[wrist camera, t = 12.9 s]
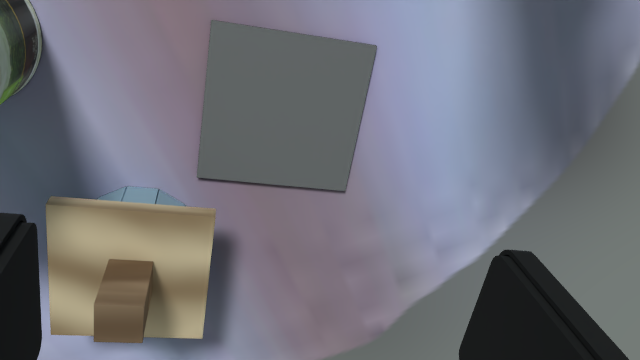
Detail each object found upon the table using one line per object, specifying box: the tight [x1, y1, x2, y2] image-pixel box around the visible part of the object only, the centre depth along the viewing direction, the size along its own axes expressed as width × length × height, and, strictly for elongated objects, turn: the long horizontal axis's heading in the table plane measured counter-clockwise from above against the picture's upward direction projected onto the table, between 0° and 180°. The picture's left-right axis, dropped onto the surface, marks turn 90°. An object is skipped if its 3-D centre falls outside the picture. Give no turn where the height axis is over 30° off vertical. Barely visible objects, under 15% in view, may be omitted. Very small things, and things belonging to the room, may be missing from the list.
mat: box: [197, 20, 377, 191], centre depth 41 cm, size 12×12×1 cm
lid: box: [46, 196, 216, 343], centre depth 37 cm, size 11×11×6 cm
